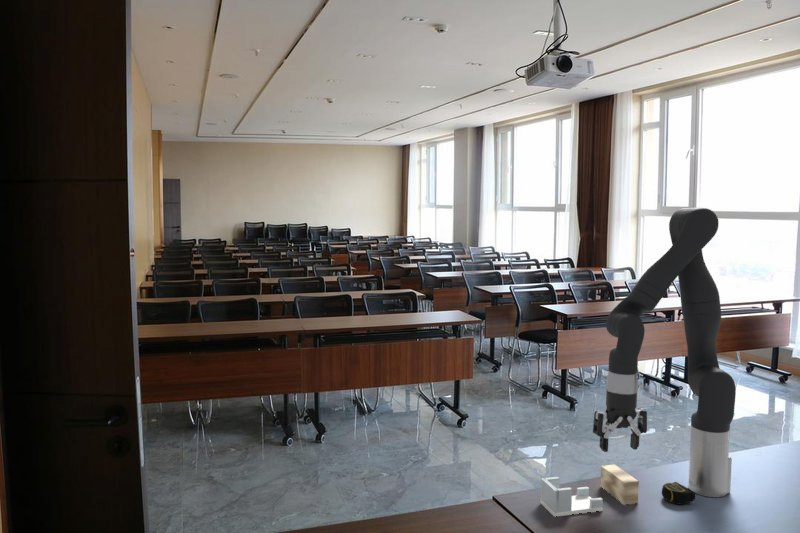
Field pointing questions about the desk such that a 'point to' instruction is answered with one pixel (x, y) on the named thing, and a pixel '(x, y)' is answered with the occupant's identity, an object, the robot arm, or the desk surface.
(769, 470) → the desk surface
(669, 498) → the tape measure
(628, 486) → the beech rail
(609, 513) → the desk surface
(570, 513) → the bracket board
